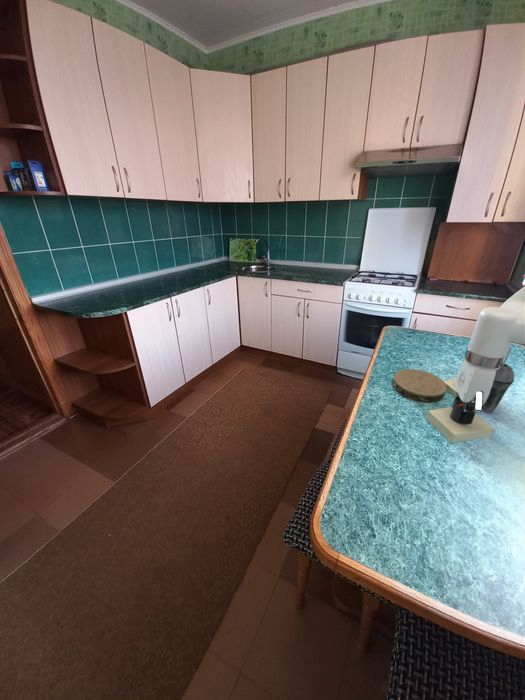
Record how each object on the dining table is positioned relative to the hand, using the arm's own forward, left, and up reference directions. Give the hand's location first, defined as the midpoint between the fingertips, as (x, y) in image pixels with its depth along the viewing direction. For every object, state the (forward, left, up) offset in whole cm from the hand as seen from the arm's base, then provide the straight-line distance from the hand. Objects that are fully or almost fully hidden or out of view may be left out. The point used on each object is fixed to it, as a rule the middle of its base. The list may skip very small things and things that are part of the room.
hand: (461, 415), depth 79 cm
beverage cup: (-15, -5, -5) cm, 16 cm away
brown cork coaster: (-2, -19, -5) cm, 20 cm away
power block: (-15, -14, -4) cm, 21 cm away
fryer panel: (0, 0, -4) cm, 4 cm away
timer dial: (0, 0, -1) cm, 1 cm away
